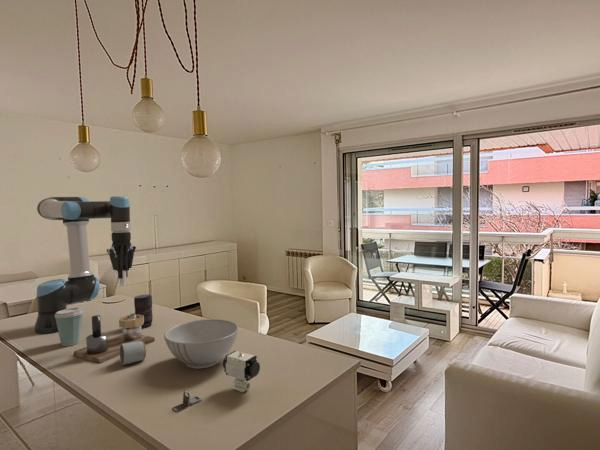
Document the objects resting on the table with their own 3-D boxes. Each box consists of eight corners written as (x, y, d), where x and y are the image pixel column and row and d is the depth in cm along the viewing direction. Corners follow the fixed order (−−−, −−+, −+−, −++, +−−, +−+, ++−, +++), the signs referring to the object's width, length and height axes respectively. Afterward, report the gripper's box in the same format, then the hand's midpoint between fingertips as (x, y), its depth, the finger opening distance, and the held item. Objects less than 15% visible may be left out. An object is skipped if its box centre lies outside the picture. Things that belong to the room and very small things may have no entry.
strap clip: (197, 398, 113) (196, 384, 112) (202, 401, 110) (202, 387, 110) (170, 409, 106) (170, 395, 106) (176, 413, 104) (175, 399, 104)
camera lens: (156, 323, 185) (154, 294, 184) (147, 328, 177) (146, 298, 176) (140, 323, 186) (139, 294, 185) (132, 328, 178) (130, 298, 177)
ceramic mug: (147, 361, 139) (146, 341, 139) (124, 368, 134) (123, 347, 134) (139, 354, 147) (138, 335, 147) (117, 359, 142) (116, 339, 142)
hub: (119, 339, 159) (118, 320, 159) (134, 334, 166) (133, 315, 165) (130, 342, 156) (129, 322, 155) (145, 336, 162) (144, 317, 162)
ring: (118, 329, 155) (117, 320, 154) (122, 322, 164) (121, 314, 163) (142, 326, 157) (142, 318, 157) (144, 320, 166) (144, 312, 166)
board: (73, 355, 147) (73, 351, 147) (128, 335, 169) (128, 331, 169) (100, 363, 139) (100, 359, 139) (154, 340, 161) (154, 337, 161)
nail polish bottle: (82, 352, 145) (81, 317, 145) (100, 346, 152) (99, 312, 151) (94, 356, 142) (92, 320, 141) (112, 349, 148) (110, 315, 148)
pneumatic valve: (232, 381, 122) (231, 346, 121) (261, 390, 116) (260, 353, 115) (221, 389, 117) (219, 352, 117) (249, 398, 111) (248, 359, 110)
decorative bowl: (159, 382, 123) (157, 346, 122) (171, 351, 149) (170, 321, 148) (240, 373, 128) (239, 339, 127) (238, 345, 154) (237, 316, 154)
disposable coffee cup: (52, 349, 153) (50, 314, 152) (58, 341, 163) (57, 307, 162) (82, 345, 157) (80, 311, 156) (86, 337, 167) (84, 304, 166)
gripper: (112, 233, 153) (115, 289, 154) (139, 230, 164) (141, 283, 166) (101, 232, 156) (103, 287, 158) (128, 230, 168) (130, 281, 169)
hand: (123, 285), depth 162 cm, fingers closed
